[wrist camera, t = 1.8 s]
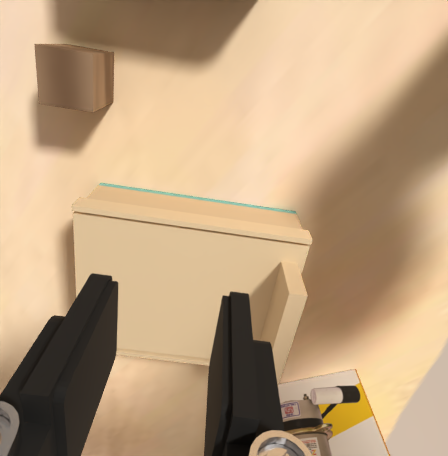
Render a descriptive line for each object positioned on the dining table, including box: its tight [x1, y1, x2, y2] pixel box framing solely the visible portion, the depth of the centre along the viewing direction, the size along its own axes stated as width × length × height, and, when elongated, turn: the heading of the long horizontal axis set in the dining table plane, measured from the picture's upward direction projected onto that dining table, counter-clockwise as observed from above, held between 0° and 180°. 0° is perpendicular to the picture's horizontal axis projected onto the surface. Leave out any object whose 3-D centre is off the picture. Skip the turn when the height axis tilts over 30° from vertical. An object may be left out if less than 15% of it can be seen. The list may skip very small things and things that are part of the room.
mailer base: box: [87, 183, 302, 229], centre depth 41 cm, size 22×16×7 cm
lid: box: [72, 197, 313, 385], centre depth 35 cm, size 22×18×7 cm
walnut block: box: [35, 44, 114, 112], centre depth 32 cm, size 4×4×6 cm
